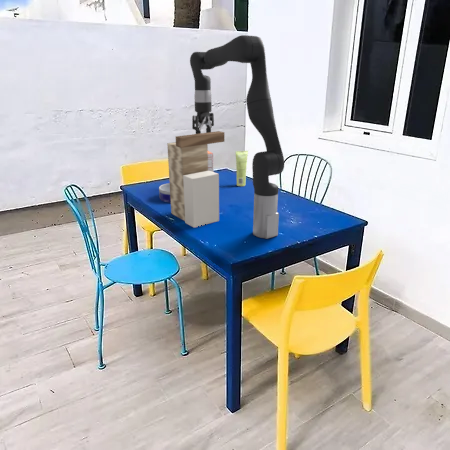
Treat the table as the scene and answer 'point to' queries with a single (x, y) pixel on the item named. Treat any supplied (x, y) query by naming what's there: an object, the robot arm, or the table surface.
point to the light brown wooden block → (199, 139)
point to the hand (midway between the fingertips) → (203, 137)
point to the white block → (201, 198)
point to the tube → (241, 167)
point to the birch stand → (184, 171)
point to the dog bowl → (165, 192)
